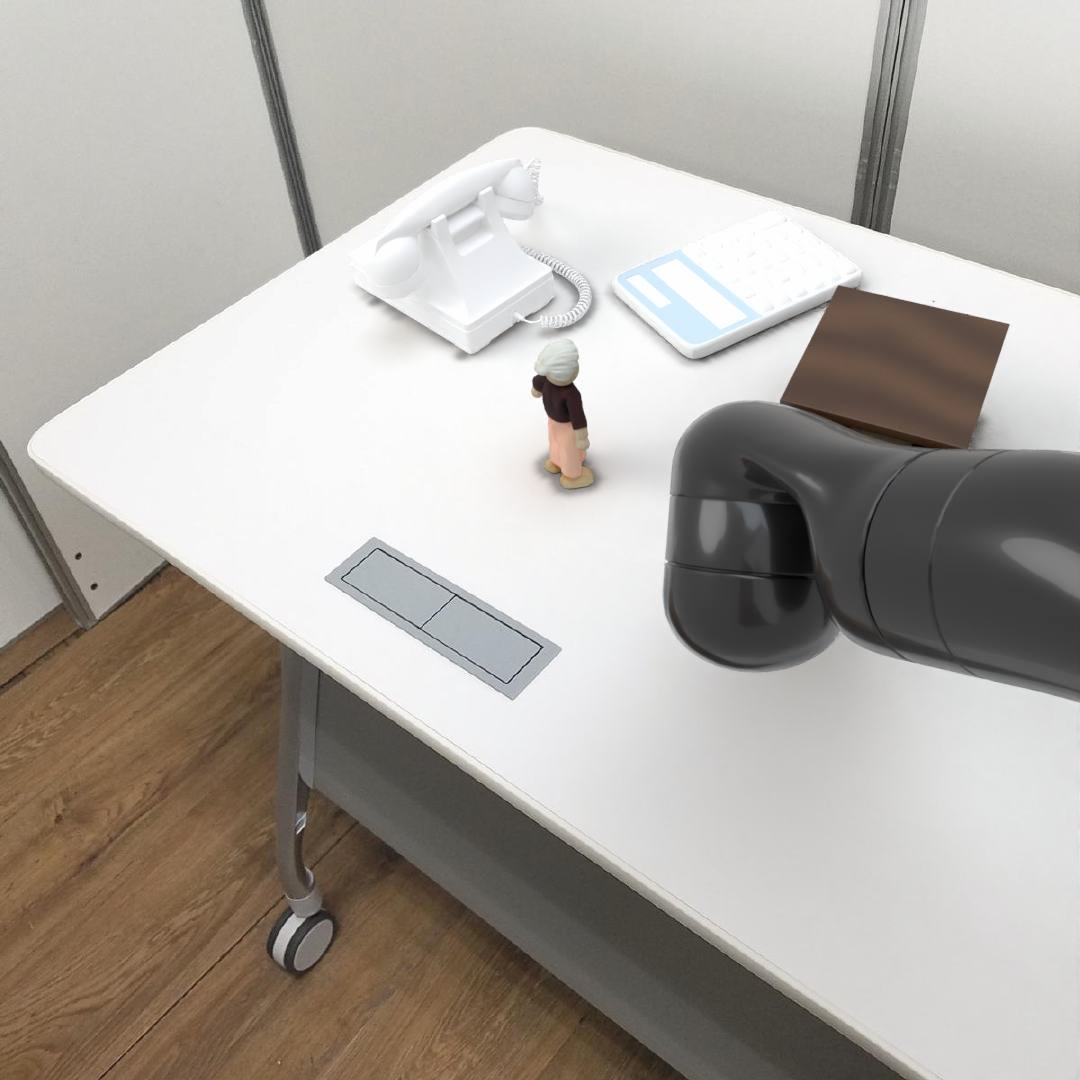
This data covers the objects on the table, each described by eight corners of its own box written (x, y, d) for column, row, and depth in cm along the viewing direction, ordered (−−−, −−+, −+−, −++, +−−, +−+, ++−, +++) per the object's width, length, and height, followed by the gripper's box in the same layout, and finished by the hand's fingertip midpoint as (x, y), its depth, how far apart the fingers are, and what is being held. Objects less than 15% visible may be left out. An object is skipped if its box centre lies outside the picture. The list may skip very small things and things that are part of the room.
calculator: (866, 286, 102) (869, 268, 100) (690, 366, 96) (692, 348, 94) (774, 220, 109) (776, 203, 108) (606, 290, 103) (606, 273, 102)
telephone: (505, 193, 115) (494, 78, 106) (656, 268, 105) (660, 148, 96) (318, 305, 104) (288, 188, 95) (468, 401, 94) (451, 280, 85)
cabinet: (936, 542, 81) (968, 449, 74) (766, 492, 85) (780, 399, 78) (978, 418, 89) (1010, 323, 82) (821, 377, 94) (838, 284, 86)
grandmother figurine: (616, 479, 87) (615, 354, 78) (581, 504, 86) (576, 380, 76) (551, 432, 91) (543, 308, 82) (516, 455, 90) (504, 331, 80)
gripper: (670, 557, 61) (728, 547, 78) (908, 634, 57) (916, 606, 73) (709, 428, 60) (759, 444, 77) (953, 496, 56) (952, 498, 72)
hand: (836, 523), depth 75 cm, fingers closed
